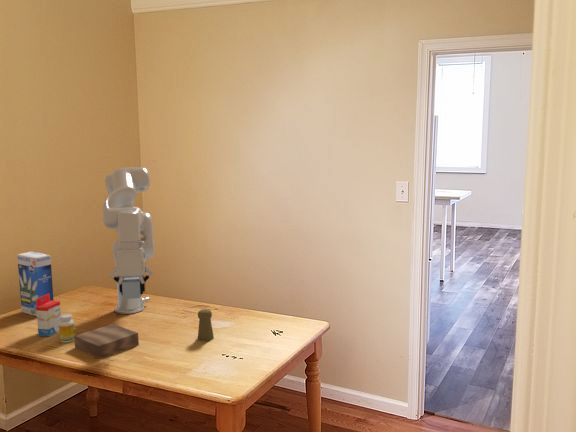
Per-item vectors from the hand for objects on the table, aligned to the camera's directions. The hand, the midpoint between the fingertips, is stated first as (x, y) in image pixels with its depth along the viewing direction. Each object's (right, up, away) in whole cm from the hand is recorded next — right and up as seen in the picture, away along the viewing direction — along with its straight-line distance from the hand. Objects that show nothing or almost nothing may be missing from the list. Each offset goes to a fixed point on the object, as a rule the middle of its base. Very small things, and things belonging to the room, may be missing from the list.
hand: (132, 293), depth 206 cm
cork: (+25, -18, +8) cm, 32 cm away
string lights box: (-52, -14, +41) cm, 67 cm away
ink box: (-36, -18, +16) cm, 44 cm away
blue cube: (0, -1, 0) cm, 1 cm away
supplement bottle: (-26, -19, +8) cm, 33 cm away
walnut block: (-10, -20, +1) cm, 22 cm away
